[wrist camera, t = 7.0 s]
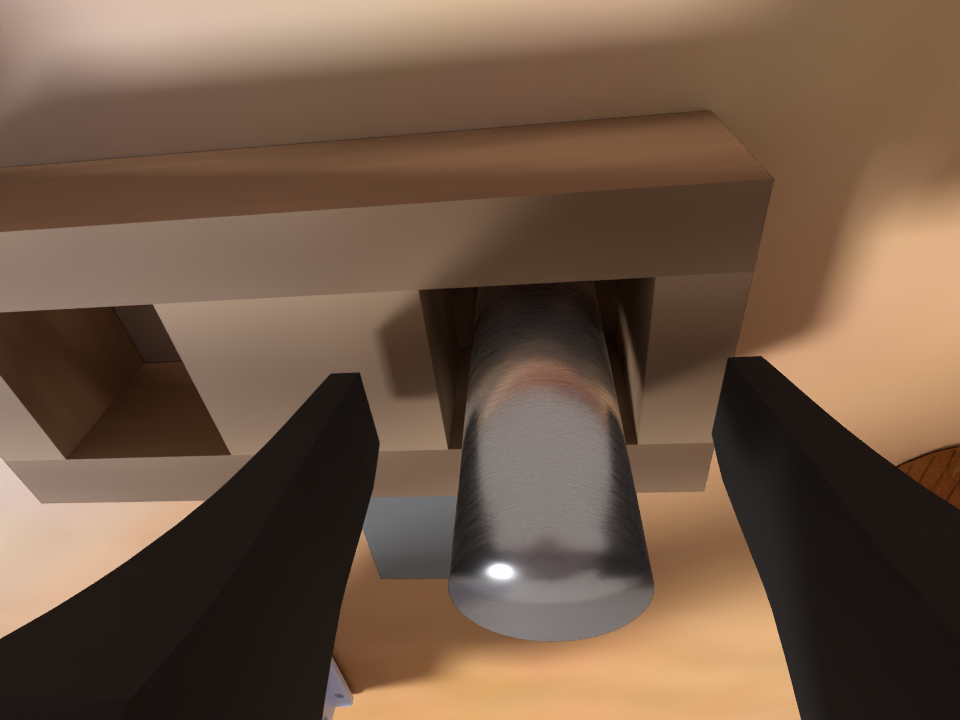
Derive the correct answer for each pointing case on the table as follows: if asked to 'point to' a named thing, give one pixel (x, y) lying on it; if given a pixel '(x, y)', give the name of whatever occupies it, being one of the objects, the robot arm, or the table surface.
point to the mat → (411, 536)
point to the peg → (545, 474)
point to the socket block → (359, 294)
